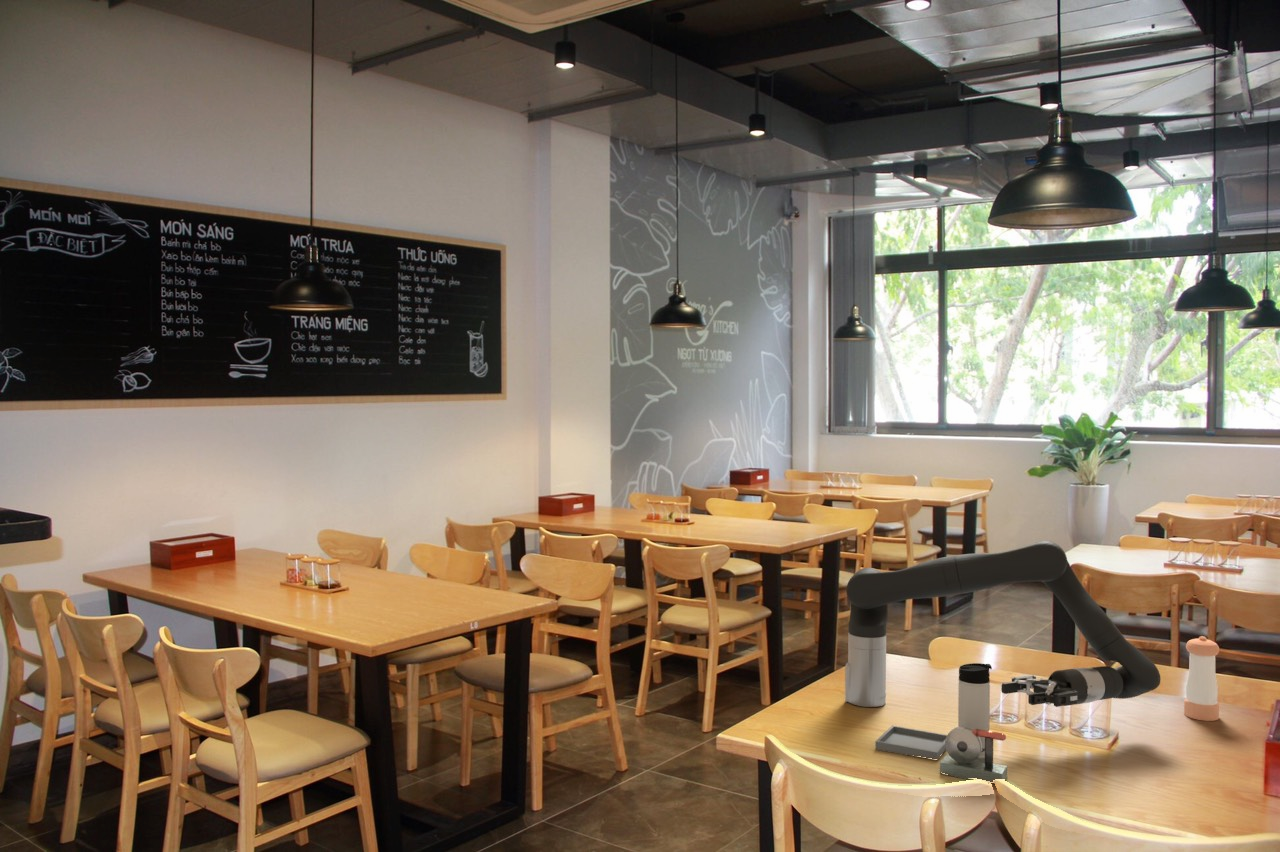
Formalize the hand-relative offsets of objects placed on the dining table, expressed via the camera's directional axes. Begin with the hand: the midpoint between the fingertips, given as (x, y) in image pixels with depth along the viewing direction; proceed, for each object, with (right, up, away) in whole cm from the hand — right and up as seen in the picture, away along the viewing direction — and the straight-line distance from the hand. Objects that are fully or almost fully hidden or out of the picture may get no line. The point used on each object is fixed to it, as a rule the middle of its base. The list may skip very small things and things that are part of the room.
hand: (1015, 694), depth 213 cm
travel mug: (-10, -13, -3) cm, 16 cm away
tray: (-21, -13, +4) cm, 25 cm away
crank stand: (-13, -13, -12) cm, 22 cm away
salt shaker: (+54, -12, +25) cm, 61 cm away
